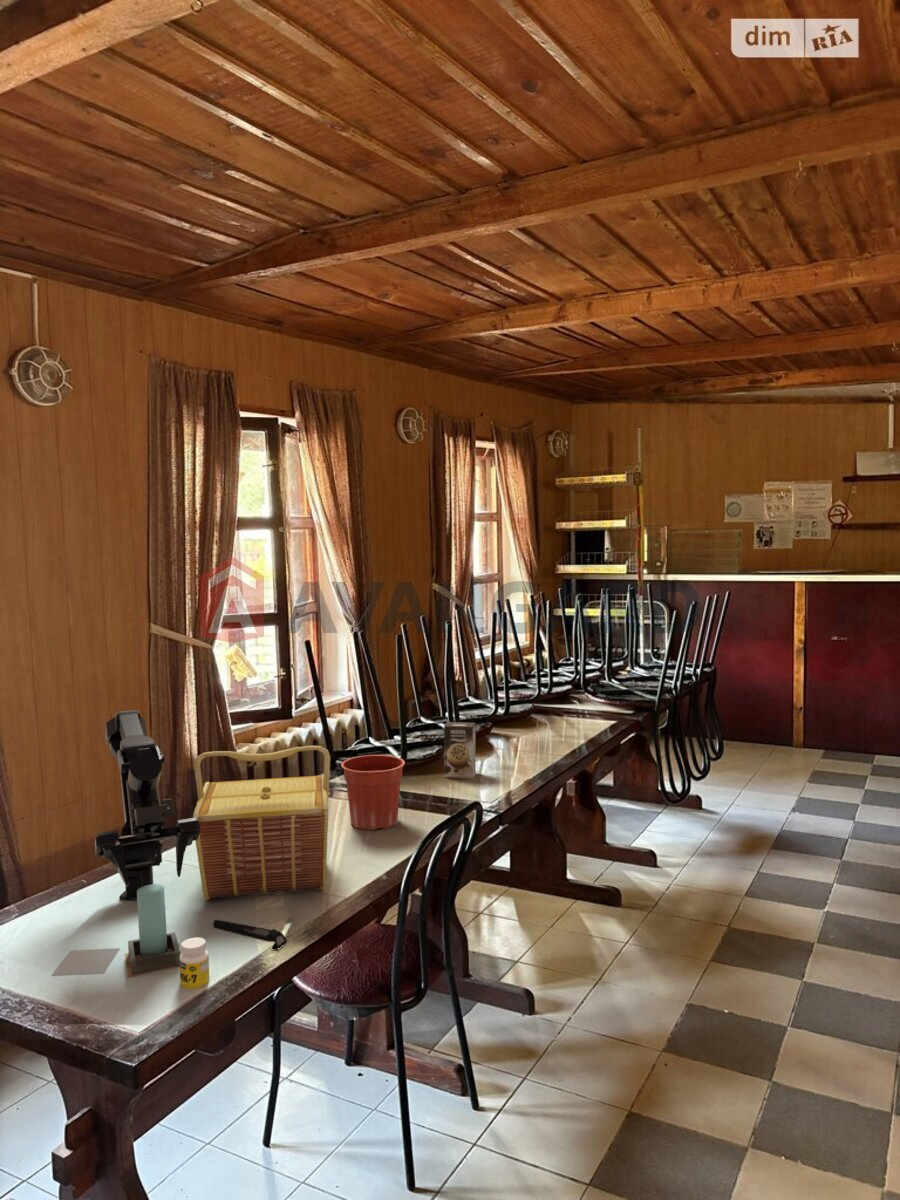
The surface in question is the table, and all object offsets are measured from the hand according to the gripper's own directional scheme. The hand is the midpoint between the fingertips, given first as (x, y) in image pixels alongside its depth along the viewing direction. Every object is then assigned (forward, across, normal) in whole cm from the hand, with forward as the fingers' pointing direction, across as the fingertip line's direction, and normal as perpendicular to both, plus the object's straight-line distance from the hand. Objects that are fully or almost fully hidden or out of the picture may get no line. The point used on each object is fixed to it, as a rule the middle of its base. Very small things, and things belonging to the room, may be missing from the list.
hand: (153, 880), depth 164 cm
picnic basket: (-2, +26, +25) cm, 36 cm away
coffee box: (-35, +99, +65) cm, 124 cm away
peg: (+14, -1, +2) cm, 14 cm away
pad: (+12, -12, +6) cm, 18 cm away
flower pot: (-18, +60, +44) cm, 77 cm away
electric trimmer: (+14, +16, +5) cm, 22 cm away
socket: (+15, -1, +2) cm, 15 cm away
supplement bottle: (+22, +4, -6) cm, 23 cm away
